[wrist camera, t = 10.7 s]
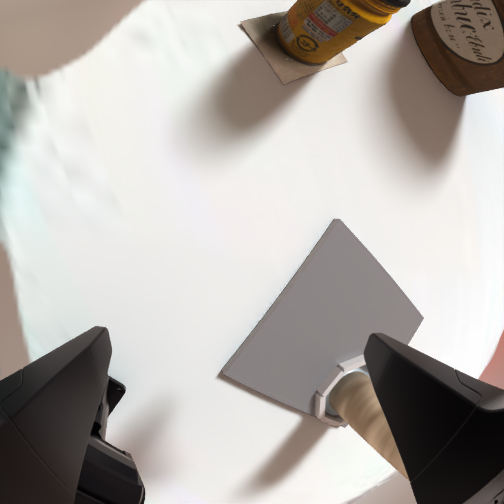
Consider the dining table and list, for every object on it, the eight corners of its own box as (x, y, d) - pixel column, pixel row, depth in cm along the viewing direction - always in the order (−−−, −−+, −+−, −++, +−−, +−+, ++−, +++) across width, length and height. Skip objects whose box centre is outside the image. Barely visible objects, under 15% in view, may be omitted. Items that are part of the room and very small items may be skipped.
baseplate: (341, 424, 29) (349, 432, 27) (221, 369, 23) (226, 380, 21) (419, 316, 30) (429, 320, 28) (334, 218, 24) (346, 219, 22)
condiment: (346, 62, 23) (434, 13, 11) (282, 85, 21) (374, 14, 10) (307, 8, 21) (377, -55, 9) (238, 23, 19) (298, -67, 8)
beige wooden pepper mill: (340, 416, 27) (428, 496, 13) (320, 396, 26) (420, 491, 11) (372, 384, 28) (468, 453, 14) (356, 362, 26) (468, 438, 12)
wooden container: (402, -2, 24) (506, -50, 4) (457, 40, 29) (548, 15, 8) (420, 72, 26) (561, 35, 6) (473, 110, 31) (582, 98, 10)
